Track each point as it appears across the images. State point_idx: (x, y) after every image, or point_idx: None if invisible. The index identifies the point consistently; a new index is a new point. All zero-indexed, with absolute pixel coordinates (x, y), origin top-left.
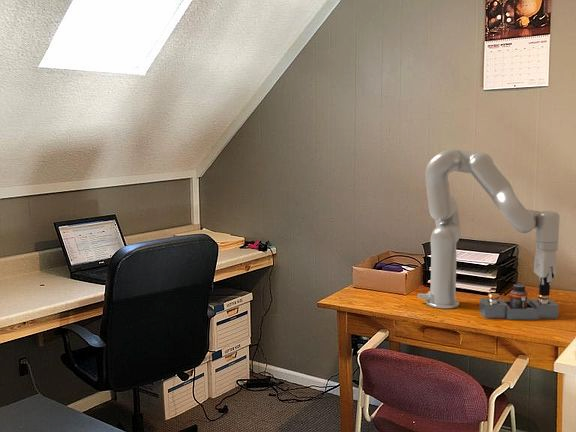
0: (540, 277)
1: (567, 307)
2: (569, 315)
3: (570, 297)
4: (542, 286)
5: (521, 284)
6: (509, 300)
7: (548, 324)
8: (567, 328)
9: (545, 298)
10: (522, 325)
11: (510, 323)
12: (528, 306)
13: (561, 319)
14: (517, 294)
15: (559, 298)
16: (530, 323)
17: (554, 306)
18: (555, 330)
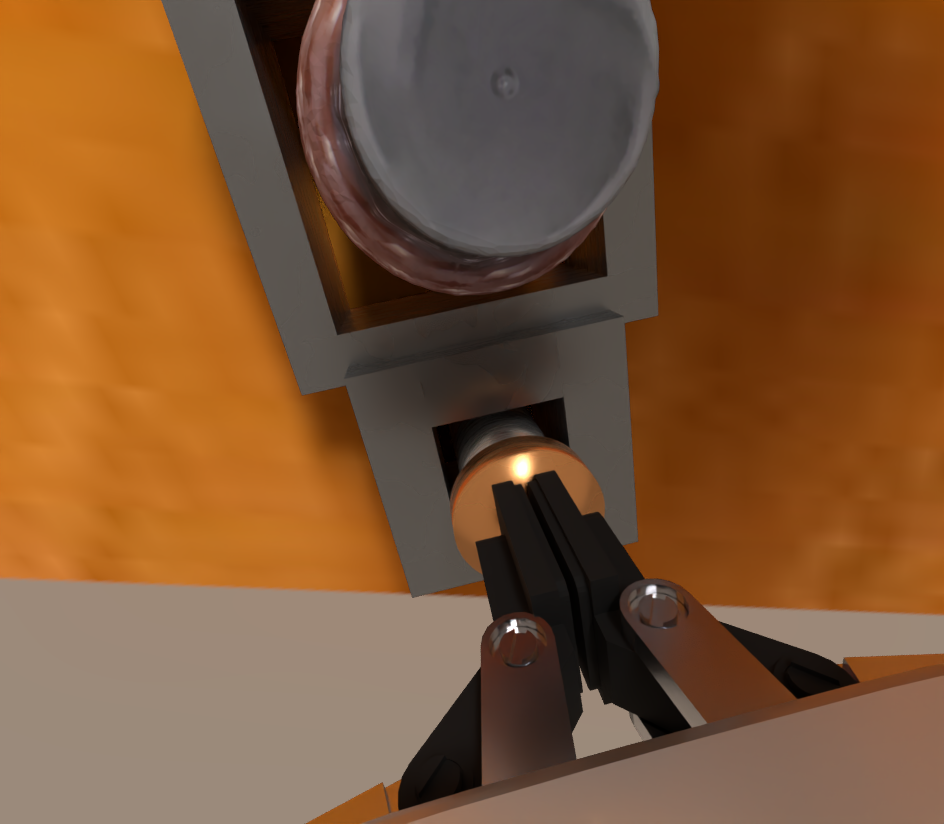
0: (700, 710)
1: (715, 585)
2: None
3: (935, 609)
4: (527, 596)
5: (622, 173)
6: None
7: (213, 433)
8: (162, 560)
9: (452, 520)
10: (46, 171)
11: (53, 17)
12: (500, 293)
13: None
14: (302, 61)
15: (926, 550)
16: (170, 271)
17: (401, 556)
18: (47, 475)
